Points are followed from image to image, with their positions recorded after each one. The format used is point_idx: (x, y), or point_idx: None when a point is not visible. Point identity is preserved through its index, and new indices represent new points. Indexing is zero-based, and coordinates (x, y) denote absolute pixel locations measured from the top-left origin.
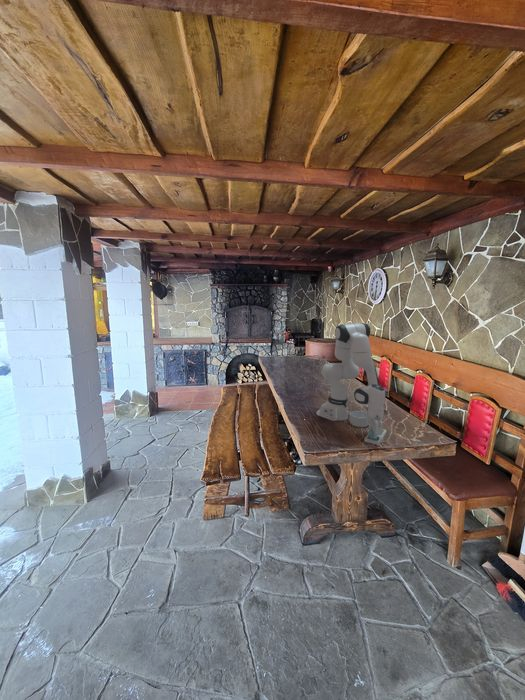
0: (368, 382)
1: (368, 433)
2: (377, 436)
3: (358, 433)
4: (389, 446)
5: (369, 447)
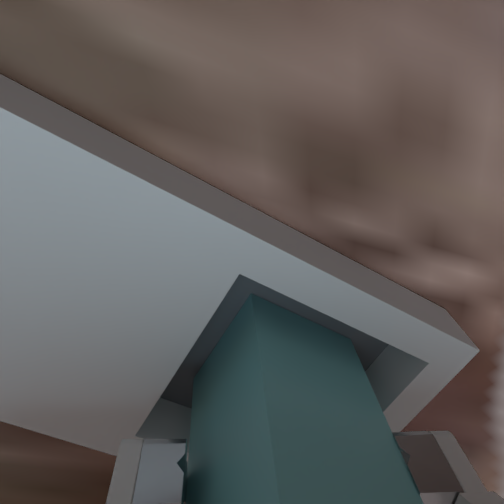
0: None
1: (86, 446)
2: (272, 354)
3: (20, 495)
4: (495, 115)
5: (477, 433)
